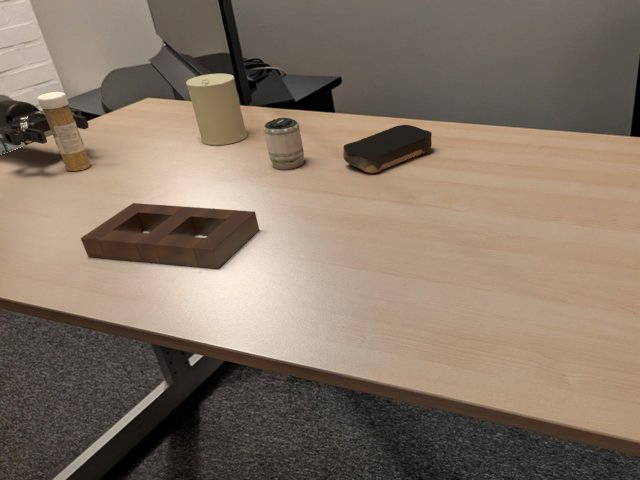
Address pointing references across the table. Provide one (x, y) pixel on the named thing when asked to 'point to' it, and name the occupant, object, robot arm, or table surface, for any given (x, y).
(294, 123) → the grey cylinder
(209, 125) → the can
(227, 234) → the socket block
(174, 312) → the table surface
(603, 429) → the table surface
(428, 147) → the black sponge
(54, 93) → the sprinkles bottle
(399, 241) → the table surface
